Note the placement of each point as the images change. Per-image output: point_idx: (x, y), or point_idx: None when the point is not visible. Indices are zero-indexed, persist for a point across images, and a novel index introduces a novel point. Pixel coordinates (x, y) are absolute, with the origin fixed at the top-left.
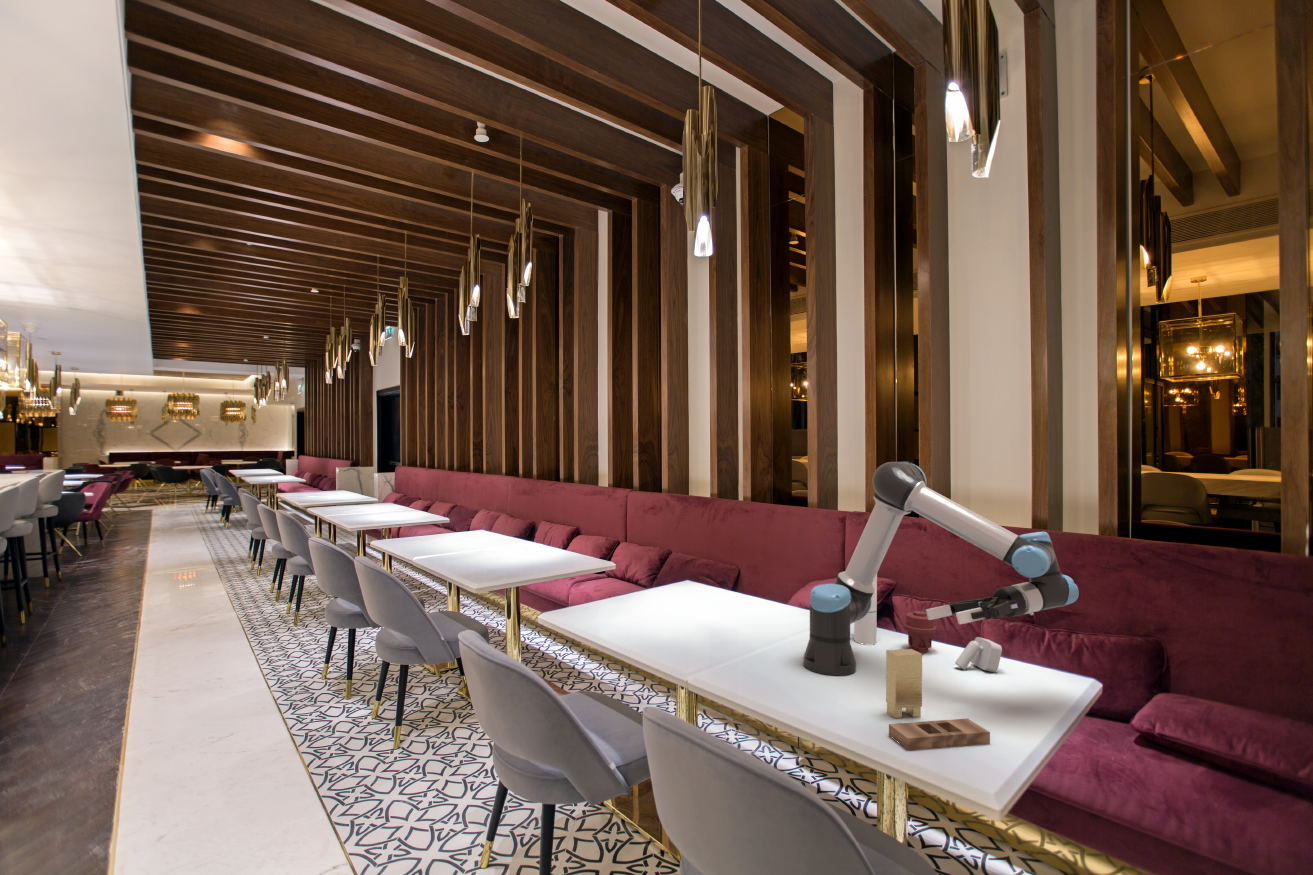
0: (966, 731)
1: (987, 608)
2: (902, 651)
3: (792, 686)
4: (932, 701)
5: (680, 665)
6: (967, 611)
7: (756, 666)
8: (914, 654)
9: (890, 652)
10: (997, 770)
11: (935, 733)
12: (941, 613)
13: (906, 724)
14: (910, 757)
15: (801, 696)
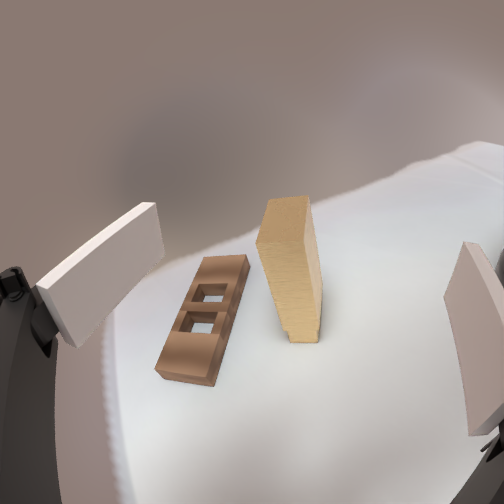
0: (175, 336)
1: (9, 296)
2: (289, 216)
3: (434, 217)
4: (356, 414)
5: (473, 154)
6: (106, 233)
7: (500, 201)
8: (260, 229)
9: (291, 197)
10: (126, 329)
11: (194, 292)
12: (471, 344)
13: (234, 272)
14: (196, 264)
15: (397, 217)
